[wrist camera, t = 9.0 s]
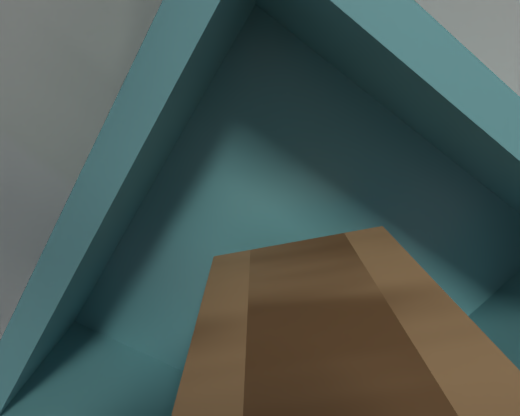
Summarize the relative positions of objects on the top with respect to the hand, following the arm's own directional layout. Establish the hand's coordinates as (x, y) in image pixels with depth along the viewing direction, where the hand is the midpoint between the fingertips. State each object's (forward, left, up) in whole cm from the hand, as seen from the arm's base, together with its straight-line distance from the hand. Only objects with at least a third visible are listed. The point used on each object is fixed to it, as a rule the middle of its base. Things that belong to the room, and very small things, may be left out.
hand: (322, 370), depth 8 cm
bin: (0, 0, -5) cm, 5 cm away
